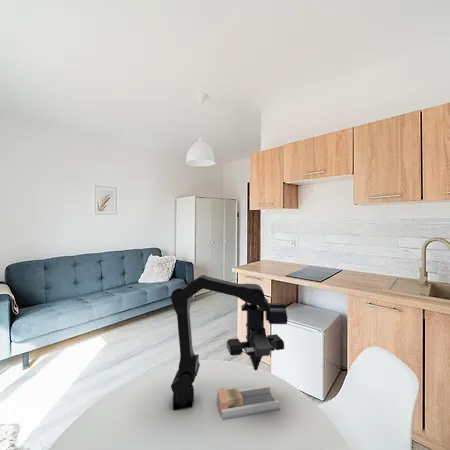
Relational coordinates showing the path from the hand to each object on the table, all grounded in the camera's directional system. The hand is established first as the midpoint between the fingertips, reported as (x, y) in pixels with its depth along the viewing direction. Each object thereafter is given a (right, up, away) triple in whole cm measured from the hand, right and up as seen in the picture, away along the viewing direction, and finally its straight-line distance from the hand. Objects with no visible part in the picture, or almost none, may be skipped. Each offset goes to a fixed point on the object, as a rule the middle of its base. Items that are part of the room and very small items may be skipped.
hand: (255, 369), depth 81 cm
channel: (-3, -12, -1) cm, 12 cm away
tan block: (-8, -11, -2) cm, 13 cm away
